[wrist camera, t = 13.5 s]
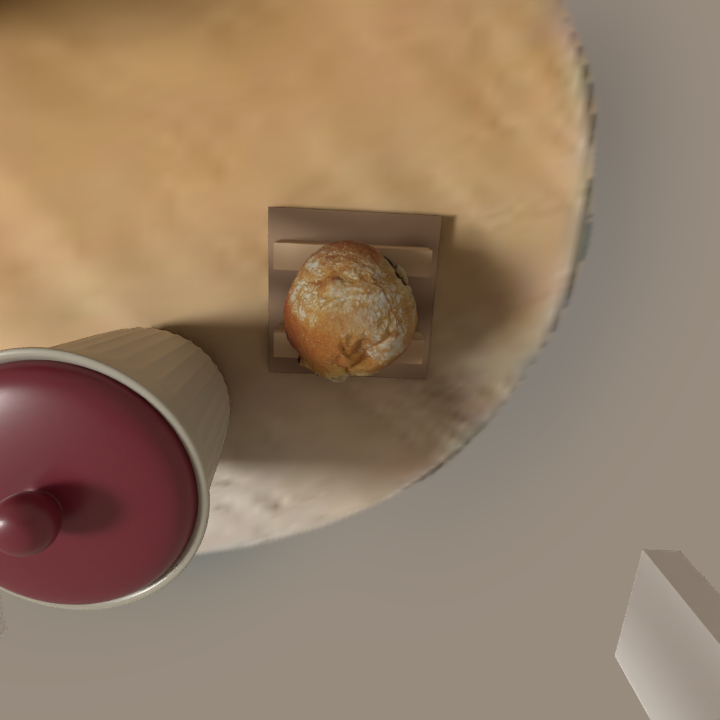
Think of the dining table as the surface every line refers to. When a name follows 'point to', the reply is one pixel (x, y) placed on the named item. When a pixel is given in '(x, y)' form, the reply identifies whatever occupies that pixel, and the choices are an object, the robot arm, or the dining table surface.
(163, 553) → the canister
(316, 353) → the bread roll
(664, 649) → the robot arm
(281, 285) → the display stand
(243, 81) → the dining table surface
